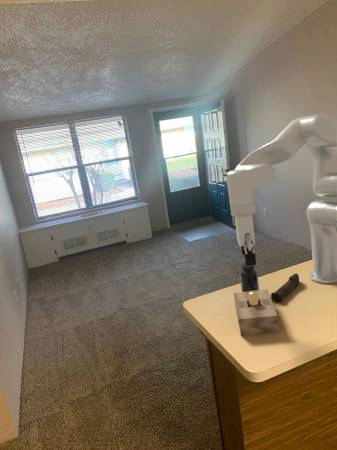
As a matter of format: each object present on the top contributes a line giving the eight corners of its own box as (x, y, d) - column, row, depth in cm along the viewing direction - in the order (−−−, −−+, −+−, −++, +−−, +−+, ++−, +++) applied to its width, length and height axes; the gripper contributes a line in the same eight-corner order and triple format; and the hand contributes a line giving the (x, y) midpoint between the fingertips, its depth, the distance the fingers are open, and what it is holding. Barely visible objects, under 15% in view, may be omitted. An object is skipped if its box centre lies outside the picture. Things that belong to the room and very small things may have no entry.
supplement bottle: (238, 293, 133) (235, 266, 130) (248, 286, 137) (245, 260, 134) (253, 297, 128) (249, 269, 125) (263, 290, 132) (259, 262, 129)
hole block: (268, 304, 121) (267, 289, 120) (279, 332, 104) (277, 315, 102) (235, 307, 123) (233, 293, 121) (240, 335, 106) (238, 319, 104)
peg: (259, 316, 114) (256, 290, 112) (261, 321, 112) (257, 294, 109) (250, 317, 115) (247, 291, 112) (252, 321, 112) (248, 295, 110)
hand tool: (281, 304, 120) (280, 292, 119) (271, 301, 123) (270, 290, 122) (305, 284, 132) (304, 273, 131) (296, 281, 135) (295, 271, 134)
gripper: (228, 204, 113) (235, 251, 117) (233, 217, 96) (240, 271, 100) (251, 201, 112) (256, 249, 116) (259, 213, 95) (265, 268, 99)
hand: (249, 259), depth 108 cm, fingers open, 9 cm apart
